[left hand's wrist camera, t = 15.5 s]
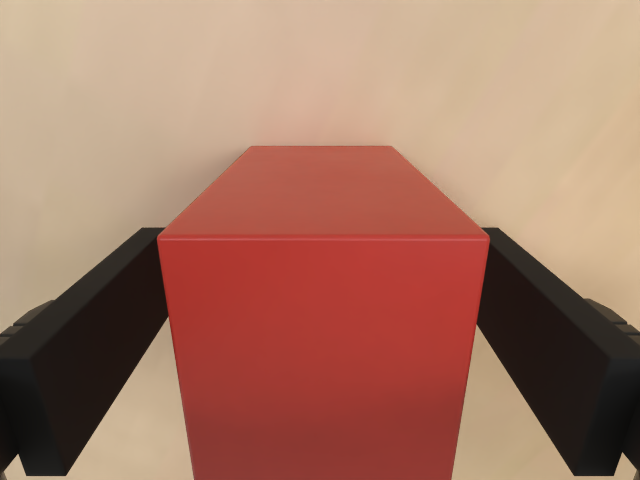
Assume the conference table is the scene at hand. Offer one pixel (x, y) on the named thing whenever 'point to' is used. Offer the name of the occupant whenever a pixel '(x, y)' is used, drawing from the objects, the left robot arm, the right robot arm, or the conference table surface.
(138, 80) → the conference table surface
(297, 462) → the brick
